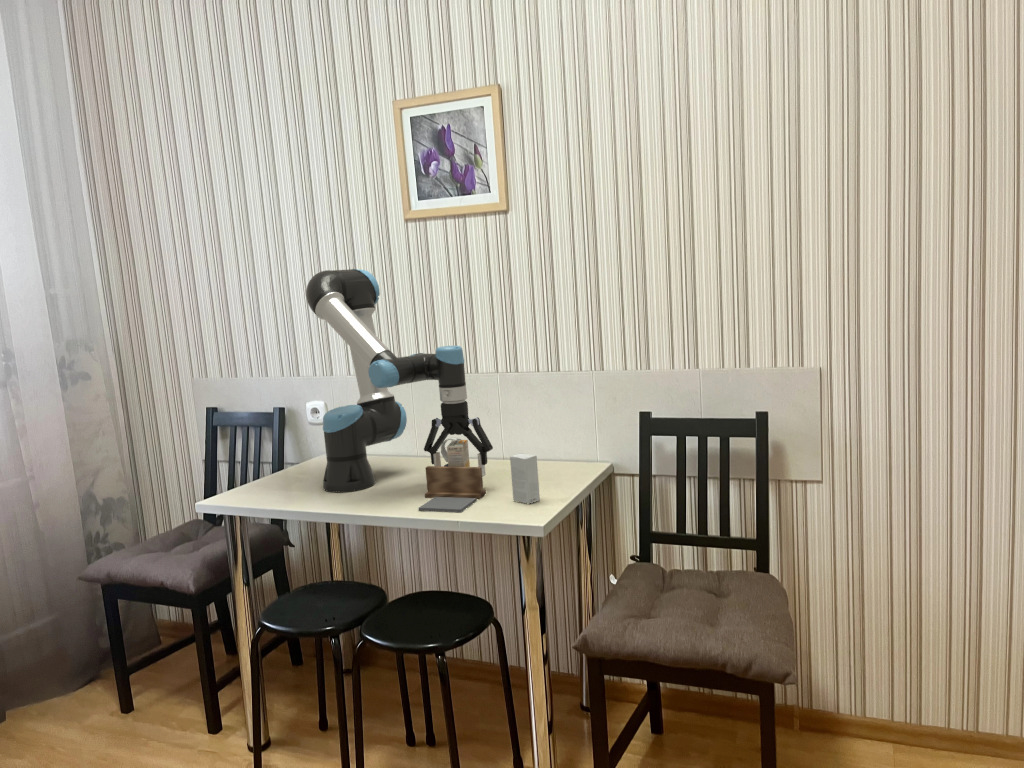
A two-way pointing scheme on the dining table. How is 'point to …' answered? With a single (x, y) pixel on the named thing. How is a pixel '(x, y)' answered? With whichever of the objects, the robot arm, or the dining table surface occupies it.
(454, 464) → the supplement box
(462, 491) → the stepped wooden ledge
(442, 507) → the pad
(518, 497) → the skincare box
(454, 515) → the dining table surface
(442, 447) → the watch
